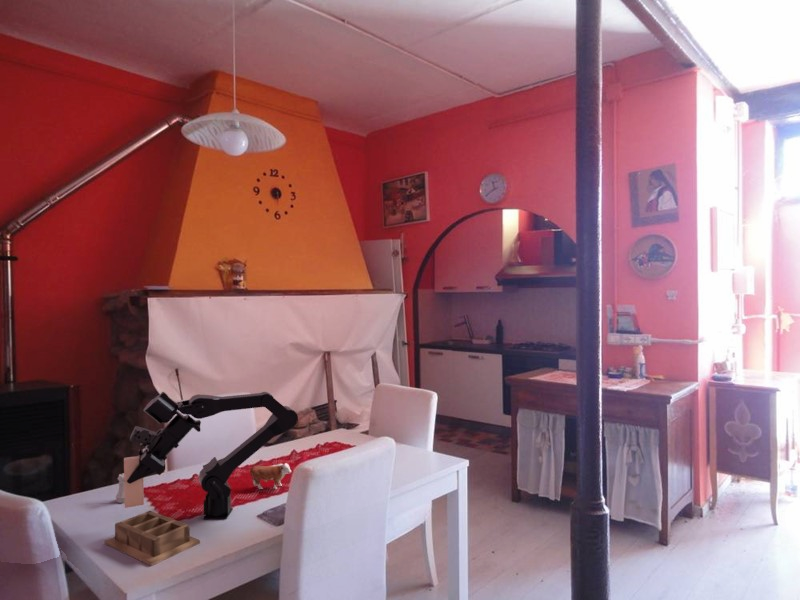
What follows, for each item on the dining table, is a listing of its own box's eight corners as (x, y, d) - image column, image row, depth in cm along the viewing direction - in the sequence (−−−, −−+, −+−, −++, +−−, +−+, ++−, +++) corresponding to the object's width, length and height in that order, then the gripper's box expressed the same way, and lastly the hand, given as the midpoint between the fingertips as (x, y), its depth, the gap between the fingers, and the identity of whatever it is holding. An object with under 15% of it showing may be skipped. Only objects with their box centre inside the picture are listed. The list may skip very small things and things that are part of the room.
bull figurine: (290, 490, 167) (290, 465, 167) (248, 490, 167) (248, 465, 167) (293, 485, 171) (293, 460, 171) (252, 485, 171) (252, 460, 171)
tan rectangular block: (143, 501, 141) (142, 455, 141) (143, 504, 139) (143, 457, 139) (124, 504, 139) (124, 457, 139) (124, 508, 137) (123, 460, 137)
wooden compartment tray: (153, 524, 143) (152, 507, 142) (199, 543, 132) (199, 524, 132) (104, 543, 132) (104, 524, 132) (151, 565, 121) (151, 545, 121)
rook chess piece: (114, 504, 156) (114, 477, 156) (116, 499, 160) (115, 473, 160) (131, 502, 158) (131, 475, 158) (132, 496, 162) (132, 471, 162)
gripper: (148, 408, 149) (105, 453, 144) (150, 423, 132) (100, 473, 127) (179, 432, 152) (137, 476, 148) (184, 449, 136) (137, 499, 131)
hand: (128, 480), depth 138 cm, fingers closed on tan rectangular block, 2 cm apart
